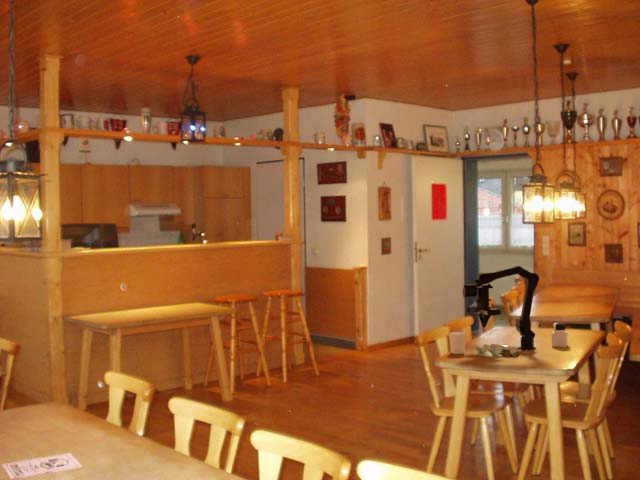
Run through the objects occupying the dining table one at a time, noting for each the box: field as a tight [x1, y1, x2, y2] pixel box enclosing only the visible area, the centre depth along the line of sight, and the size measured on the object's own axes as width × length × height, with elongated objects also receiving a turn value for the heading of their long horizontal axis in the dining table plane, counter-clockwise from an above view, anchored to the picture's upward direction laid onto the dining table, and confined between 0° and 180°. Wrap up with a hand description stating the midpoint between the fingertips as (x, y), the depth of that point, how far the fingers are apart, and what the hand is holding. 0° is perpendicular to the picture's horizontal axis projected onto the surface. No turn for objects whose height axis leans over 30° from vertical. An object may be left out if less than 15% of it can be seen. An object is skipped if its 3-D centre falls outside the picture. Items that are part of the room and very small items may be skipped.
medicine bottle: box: [551, 322, 568, 348], centre depth 398 cm, size 7×7×12 cm
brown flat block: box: [500, 346, 520, 357], centre depth 379 cm, size 8×8×4 cm
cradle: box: [474, 344, 504, 359], centre depth 378 cm, size 8×12×4 cm, turn 34°
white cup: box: [449, 331, 466, 355], centre depth 386 cm, size 8×8×10 cm
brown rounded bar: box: [489, 342, 520, 357], centre depth 381 cm, size 15×4×4 cm, turn 34°
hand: (484, 327), depth 391 cm, fingers closed
